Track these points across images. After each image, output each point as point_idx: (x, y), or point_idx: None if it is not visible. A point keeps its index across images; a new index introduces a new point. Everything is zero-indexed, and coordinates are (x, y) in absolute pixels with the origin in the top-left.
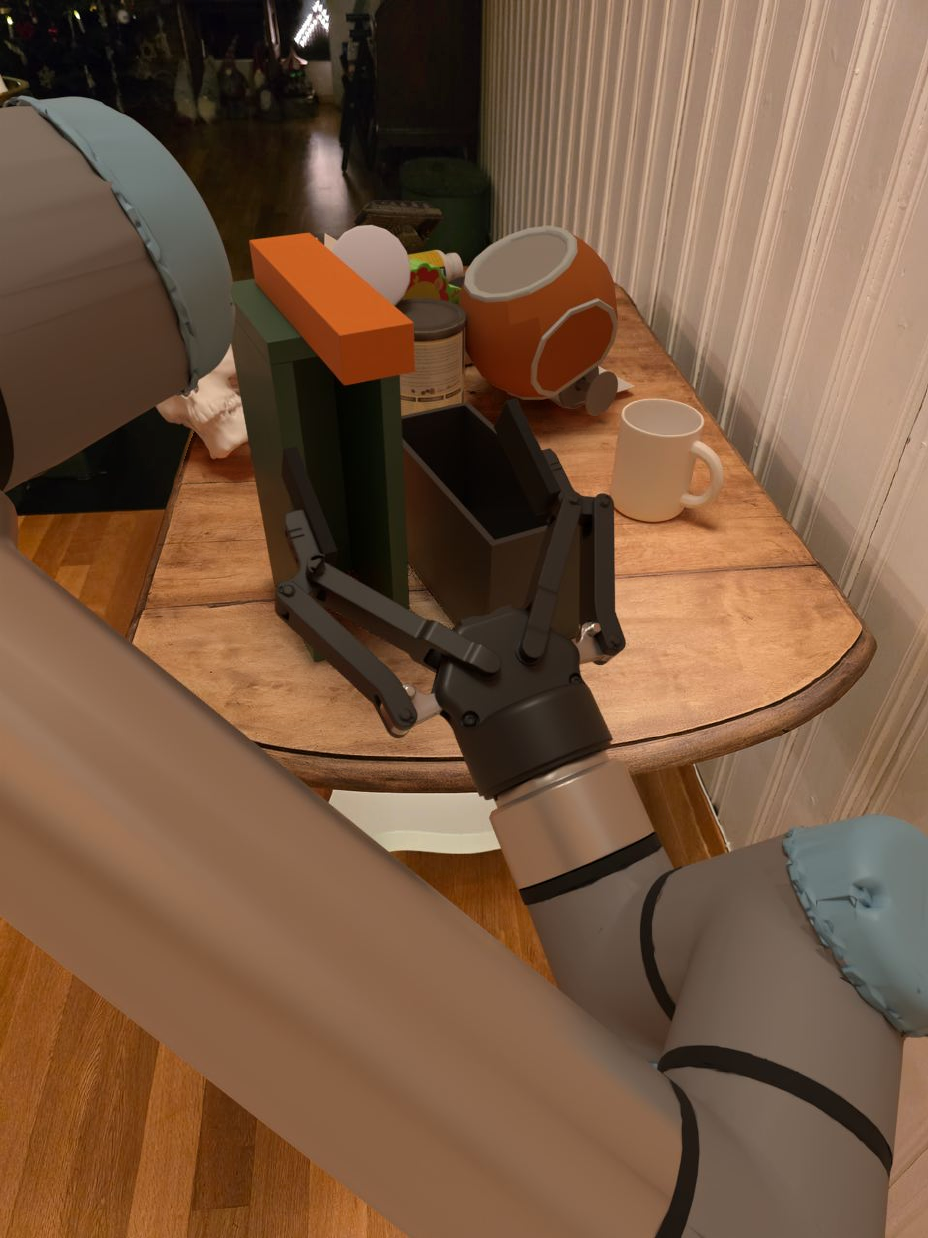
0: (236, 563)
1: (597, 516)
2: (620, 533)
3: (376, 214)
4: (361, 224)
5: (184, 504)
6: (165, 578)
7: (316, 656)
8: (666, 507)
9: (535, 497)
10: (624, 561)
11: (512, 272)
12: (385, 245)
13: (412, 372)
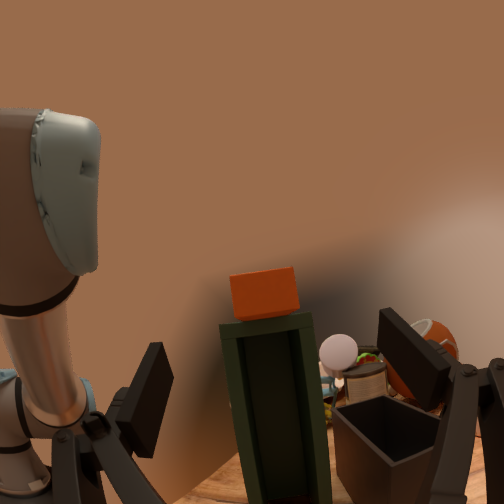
0: (244, 484)
1: (498, 380)
2: (479, 446)
3: None
4: None
5: (235, 456)
6: (205, 484)
7: None
8: None
9: (423, 389)
10: (483, 460)
11: None
12: (345, 340)
13: (360, 393)
